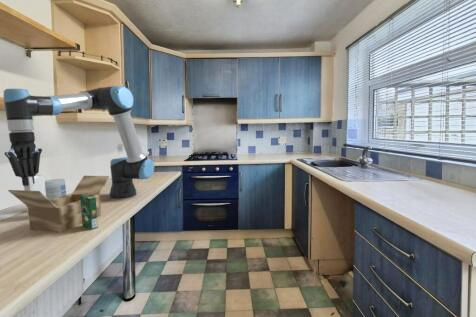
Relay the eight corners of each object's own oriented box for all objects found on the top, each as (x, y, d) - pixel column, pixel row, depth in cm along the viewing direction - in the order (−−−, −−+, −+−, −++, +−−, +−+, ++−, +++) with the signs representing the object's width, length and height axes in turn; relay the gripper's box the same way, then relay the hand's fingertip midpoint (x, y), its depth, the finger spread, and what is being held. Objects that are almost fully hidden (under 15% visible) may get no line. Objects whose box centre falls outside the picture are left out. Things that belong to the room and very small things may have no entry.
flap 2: (72, 192, 138) (73, 193, 138) (98, 193, 134) (99, 194, 134) (83, 175, 144) (84, 176, 145) (109, 176, 140) (109, 176, 141)
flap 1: (8, 189, 109) (7, 190, 109) (39, 191, 105) (38, 191, 105) (28, 205, 117) (27, 206, 116) (57, 207, 113) (57, 207, 112)
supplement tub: (68, 208, 149) (65, 180, 147) (46, 211, 144) (43, 182, 142) (67, 204, 157) (64, 177, 155) (46, 207, 152) (43, 180, 150)
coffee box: (99, 227, 118) (96, 196, 116) (92, 229, 115) (89, 198, 114) (89, 224, 123) (86, 194, 121) (82, 226, 120) (79, 195, 119)
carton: (73, 213, 139) (71, 193, 138) (101, 215, 135) (99, 194, 134) (30, 229, 118) (27, 206, 117) (61, 232, 114) (58, 207, 112)
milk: (35, 219, 132) (29, 172, 129) (27, 217, 135) (21, 171, 132) (48, 215, 138) (43, 170, 135) (40, 214, 140) (35, 169, 137)
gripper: (30, 131, 113) (38, 189, 117) (-5, 132, 101) (5, 197, 104) (45, 130, 111) (52, 189, 115) (11, 132, 99) (20, 198, 102)
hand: (30, 193), depth 109 cm, fingers closed
